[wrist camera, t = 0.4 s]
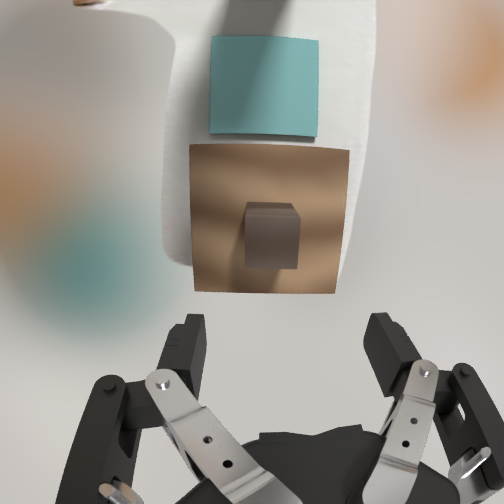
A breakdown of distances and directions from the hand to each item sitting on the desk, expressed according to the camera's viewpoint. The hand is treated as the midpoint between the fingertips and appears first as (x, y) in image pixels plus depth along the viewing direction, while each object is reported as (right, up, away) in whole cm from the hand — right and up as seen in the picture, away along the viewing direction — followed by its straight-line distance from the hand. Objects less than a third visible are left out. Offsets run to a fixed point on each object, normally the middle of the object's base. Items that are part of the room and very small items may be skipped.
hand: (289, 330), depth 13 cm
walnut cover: (0, +8, +17) cm, 19 cm away
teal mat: (0, +27, +22) cm, 35 cm away
